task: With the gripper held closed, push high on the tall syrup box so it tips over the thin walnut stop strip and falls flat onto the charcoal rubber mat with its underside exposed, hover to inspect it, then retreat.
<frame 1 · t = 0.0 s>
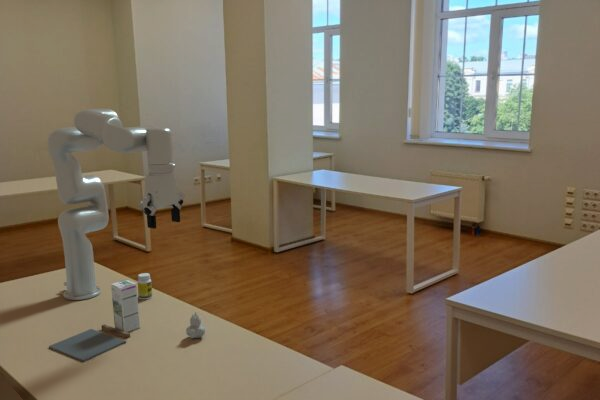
hand: (164, 224, 169), 31 cm above the table, fingers open, 9 cm apart
supplement bottle: (145, 298, 195), on the table
mat: (87, 345, 158), on the table
white irregular lump: (195, 338, 162), on the table
stop strip: (115, 333, 166), on the table
syrup box: (127, 328, 169), on the table
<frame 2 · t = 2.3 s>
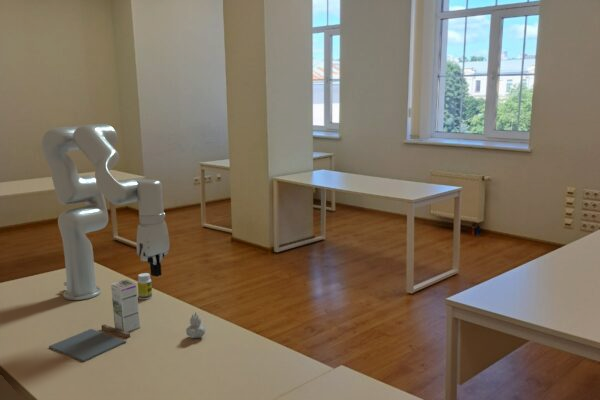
hand: (156, 275, 177), 14 cm above the table, fingers closed
nothing on the table moved.
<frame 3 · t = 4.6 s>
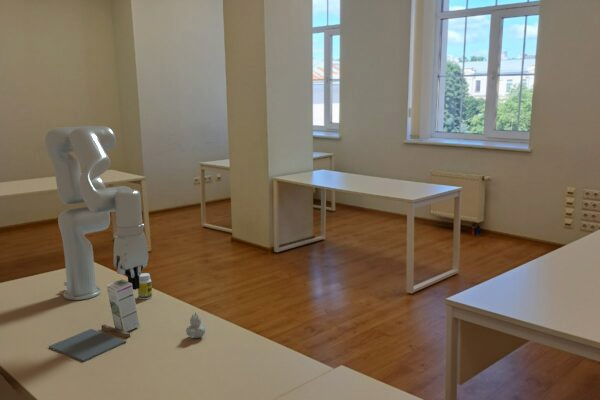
hand: (134, 288, 170), 12 cm above the table, fingers closed
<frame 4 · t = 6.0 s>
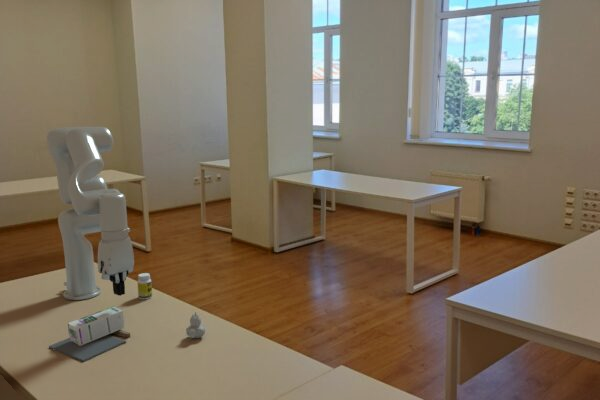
hand: (119, 294, 166), 12 cm above the table, fingers closed
syrup box: (120, 316, 167), point 4 cm above the table, touching mat, stop strip
everything else where it was.
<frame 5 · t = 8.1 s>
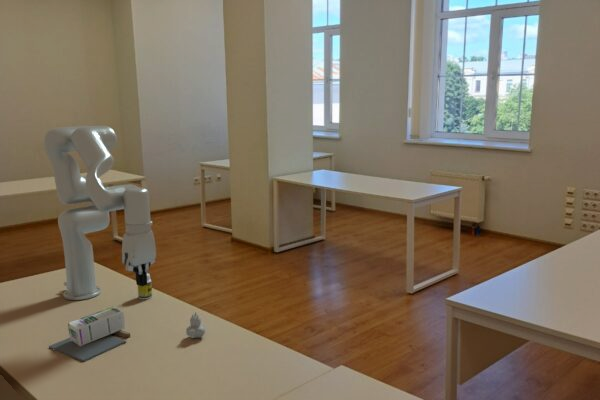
hand: (141, 284, 173), 12 cm above the table, fingers closed
nothing on the table moved.
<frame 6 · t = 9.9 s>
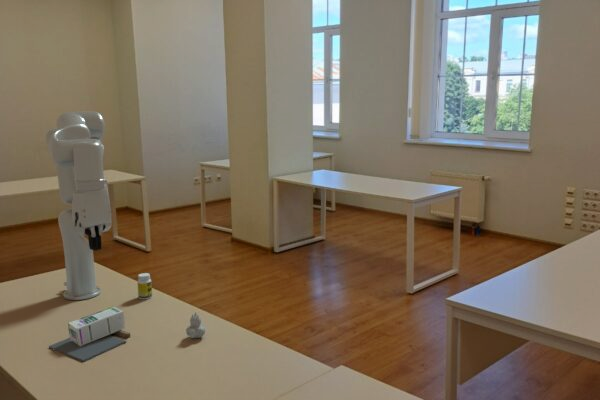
hand: (95, 249, 157), 27 cm above the table, fingers closed
nothing on the table moved.
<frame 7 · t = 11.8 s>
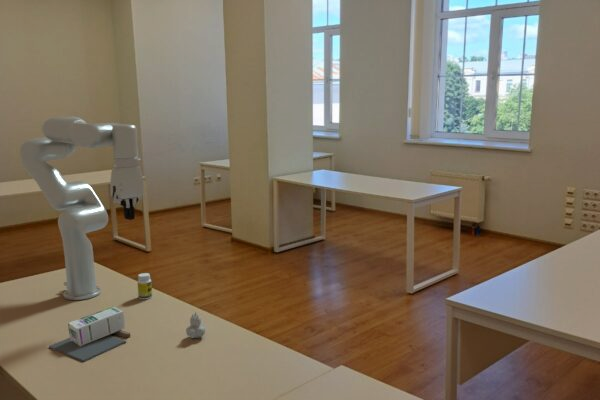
hand: (129, 218, 180), 31 cm above the table, fingers closed
nothing on the table moved.
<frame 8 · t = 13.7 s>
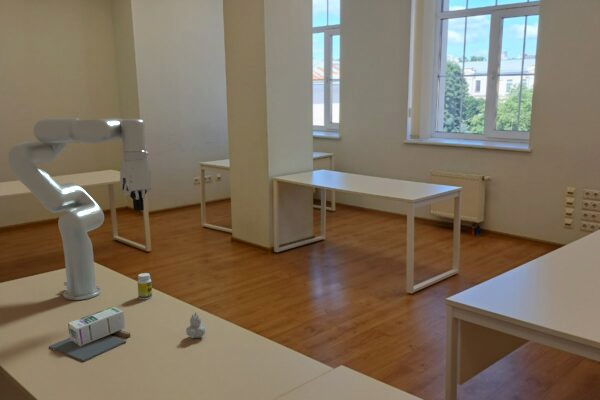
hand: (138, 210, 187), 32 cm above the table, fingers closed
nothing on the table moved.
at the end: syrup box tilted 93°; syrup box inside the target area (2.6 cm from its centre), point 4.1 cm above the table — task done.
